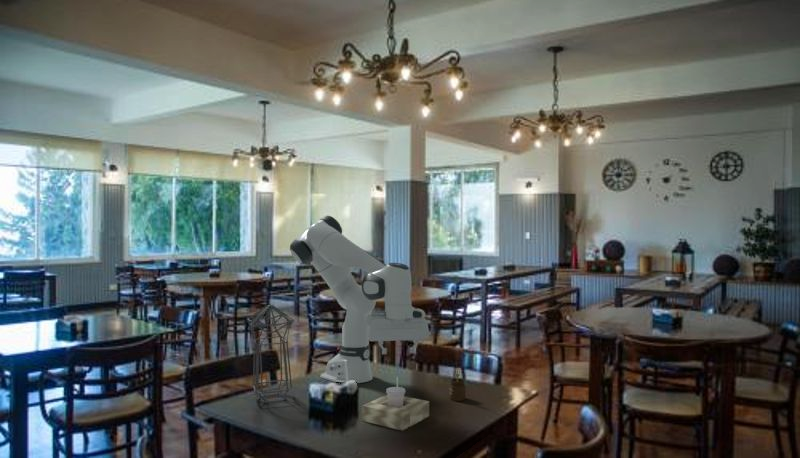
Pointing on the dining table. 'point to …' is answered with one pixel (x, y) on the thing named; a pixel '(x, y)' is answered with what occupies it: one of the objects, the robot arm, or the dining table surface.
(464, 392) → the brown bottle
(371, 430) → the dining table surface
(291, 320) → the geometric lantern
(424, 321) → the robot arm
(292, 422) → the dining table surface
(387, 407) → the socket block
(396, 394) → the smoothie
